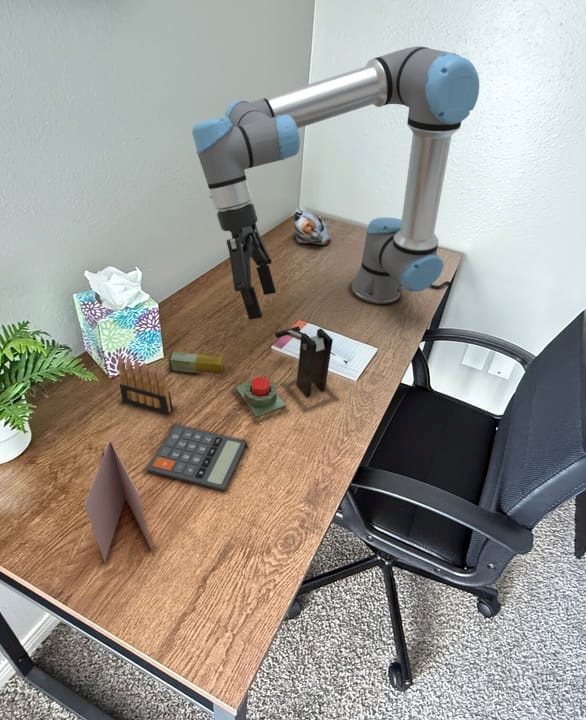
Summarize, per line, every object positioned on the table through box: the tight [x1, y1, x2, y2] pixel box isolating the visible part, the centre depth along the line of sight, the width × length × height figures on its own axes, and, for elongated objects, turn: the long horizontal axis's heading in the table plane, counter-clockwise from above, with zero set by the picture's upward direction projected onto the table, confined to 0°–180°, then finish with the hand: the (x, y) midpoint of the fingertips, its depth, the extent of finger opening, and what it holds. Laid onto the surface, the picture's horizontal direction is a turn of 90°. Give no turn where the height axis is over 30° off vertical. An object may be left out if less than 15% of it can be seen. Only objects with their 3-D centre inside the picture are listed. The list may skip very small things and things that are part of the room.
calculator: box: [146, 424, 247, 492], centre depth 88 cm, size 12×1×15 cm
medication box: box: [167, 351, 224, 374], centre depth 106 cm, size 12×3×4 cm, turn 87°
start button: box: [251, 376, 271, 396], centre depth 99 cm, size 4×4×2 cm
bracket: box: [296, 328, 334, 398], centre depth 101 cm, size 9×8×16 cm
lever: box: [274, 325, 325, 352], centre depth 102 cm, size 14×6×2 cm, turn 33°
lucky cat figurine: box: [293, 208, 332, 246], centre depth 165 cm, size 15×12×14 cm
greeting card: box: [83, 440, 153, 562], centre depth 71 cm, size 11×7×15 cm, turn 3°
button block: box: [235, 379, 287, 418], centre depth 100 cm, size 10×7×4 cm
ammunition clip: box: [117, 355, 174, 416], centre depth 94 cm, size 11×2×12 cm, turn 75°
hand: (263, 305), depth 101 cm, fingers open, 13 cm apart
